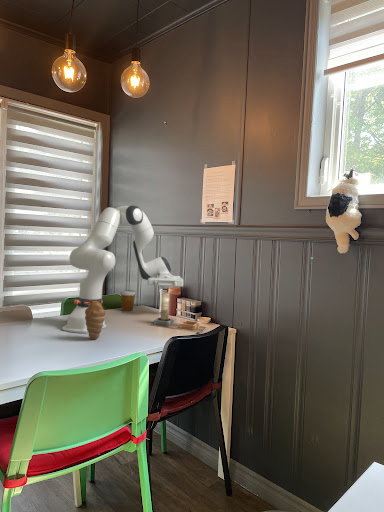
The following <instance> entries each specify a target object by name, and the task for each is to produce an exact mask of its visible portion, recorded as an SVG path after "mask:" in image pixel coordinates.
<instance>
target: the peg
mask: <svg viewBox="0 0 384 512" xmlns="http://www.w3.org/2000/svg"><path fill="white" fill-rule="evenodd" d="M160 306H161V309H160V311H161V312H160V317H161V321H168V318H169V311H170V293H162V294H161V305H160Z"/></svg>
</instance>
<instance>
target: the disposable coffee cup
mask: <svg viewBox="0 0 384 512" xmlns="http://www.w3.org/2000/svg"><path fill="white" fill-rule="evenodd" d="M119 294H120V296H121V297H120V298H121V299H120V300H121V310H122V311H123V312H126V313H127V312H133V309H134V304H135V298H136V295H137V293H136V290H132V289H122V290H120V293H119Z"/></svg>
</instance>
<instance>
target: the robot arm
mask: <svg viewBox="0 0 384 512" xmlns="http://www.w3.org/2000/svg"><path fill="white" fill-rule="evenodd" d="M129 226H130V227H131V229H132V232H133V234H134V240H133V242H132V246H133V250H134V251H133V252H134V256H135V258H136V263H137V265H138V273H139V275H140V278H141V279H142V280H145V281H147V285H148V286H158V287H160V288H162V289H169V288H170V289H171V288H179V287H181V288H182V287H184V279H183V277H181V276H180V275H177V274H172V273H171V272H172V268H171V265H170V263H169V261H168V260H167V258H165V257H164V256H159V257H156V258H154V259H152V260H149V261H147V262H145V260H144V257H143V250H144V249H145V247H146V246H147V245H148V244H150V242H151V241H152V240H153V238H154V235H155V232H154V228H153V225H152V224H151V221H150V220H149V217H148V216H147V215H146V213H145V212H144V211H143V210H142V209H141V208H140V207H139V206H137V205H134V204H133V205H121V206H117V207H111V206H110V207H109V206H108V207H106V208H104V210H103V211H102V212H101V213H100V215H99V217H98V219H97V220H96V223H95V224H94V227H93V229H92V231H91V233H90V235H89V237H87V239H86V240H85V241H84V242H83V243H82V244H80V246H78V247H76V248H74V249H73V250H72V251H71V252H70V254H69V259H68V260H69V263H70V265H71V267H74V268H77V269H79V270H83V271H84V270H85V271H88V273H87V275H86V277H84V278H83V279H82V280H80V283H79V295H78V299H74V300H73V304H74V305H76V307H75V308H73V310H72V312H71V313H70V314H69V315H68V317H67V324H66V325H63V326H62V327H61V330H63V331H64V332H69V333H78V334H87V333H88V334H89V332H88V331H87V326H86V320H85V316H86V314H85V310H86V309H87V308H88V307H89V304H90V303H89V300H92V301H99V300H102V302H101V305H102V306H103V304H104V303H103V301H104V300H103V299H104V298H103V286H104V281H105V278H106V276H108V273H110V271H112V270H113V269H114V267H115V266H116V256H115V254H114V253H113V252H111V251H108V250H105V248H107V247H108V246H110V245H111V244H112V242H113V239H114V237H115V235H116V233H117V230H118V229H119V228H118V227H129ZM157 276H158V277H157ZM105 328H107V324H105V321H104V322H103V327H102V328H101V330H102V329H105Z"/></svg>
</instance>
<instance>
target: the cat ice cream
mask: <svg viewBox="0 0 384 512" xmlns="http://www.w3.org/2000/svg"><path fill="white" fill-rule="evenodd" d="M101 302H102V300H99V301H92V300H89V303H90V304H89V307H88V308H87V309H86V310H85V314H86V316H85V320H86V326H87V331H88V337H89V338H90V339H91V340H97V339H99V338H100V335H101V332H102V329H103V328H102V327H103V322H104V323H105V319H106V318H105V315H106V314H107V313H106V310H105V308H104V307H103V304H102V305H101ZM101 328H102V329H101Z"/></svg>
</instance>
